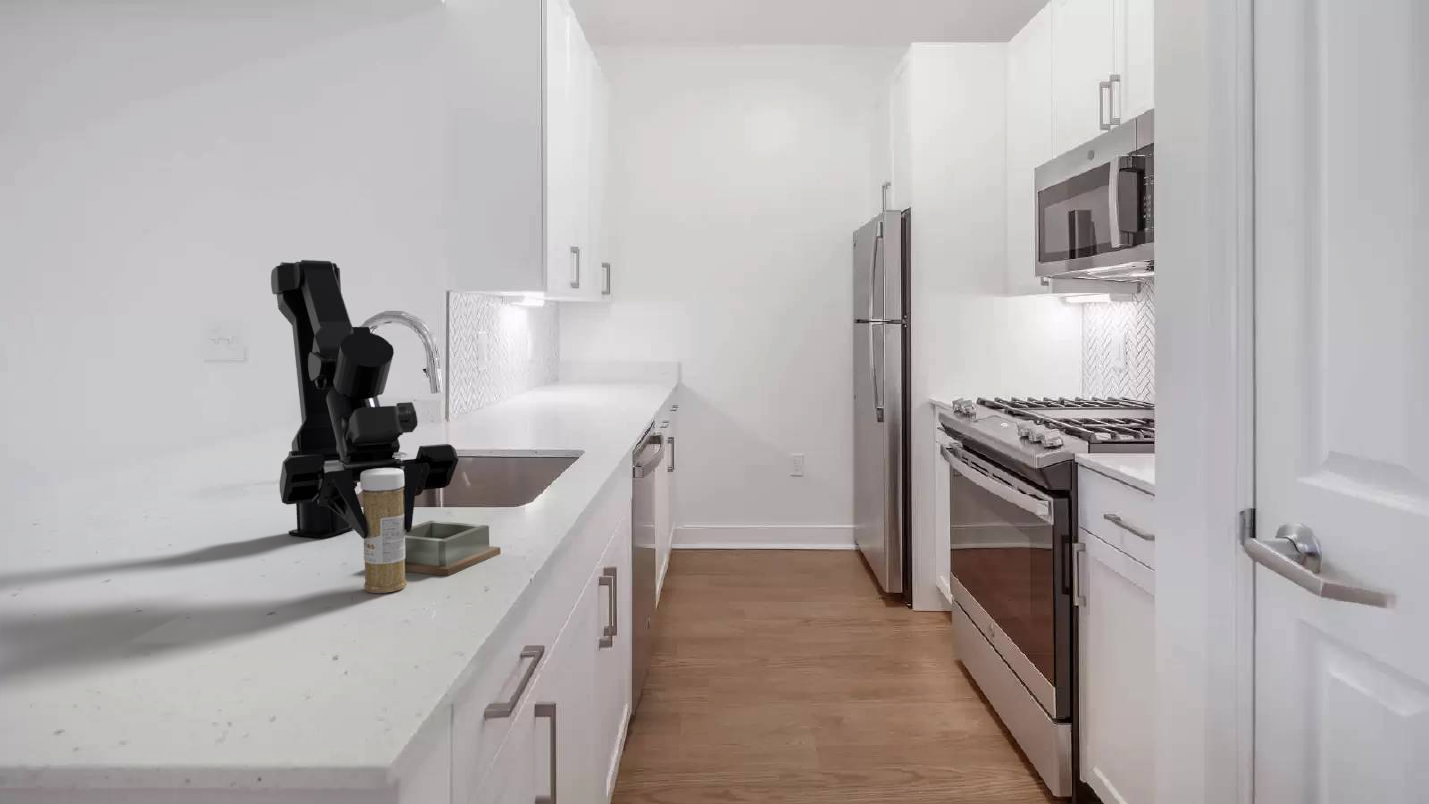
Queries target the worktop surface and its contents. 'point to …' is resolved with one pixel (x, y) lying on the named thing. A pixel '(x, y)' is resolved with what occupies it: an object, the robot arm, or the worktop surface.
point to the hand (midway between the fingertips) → (387, 533)
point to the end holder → (446, 547)
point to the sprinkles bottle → (384, 529)
